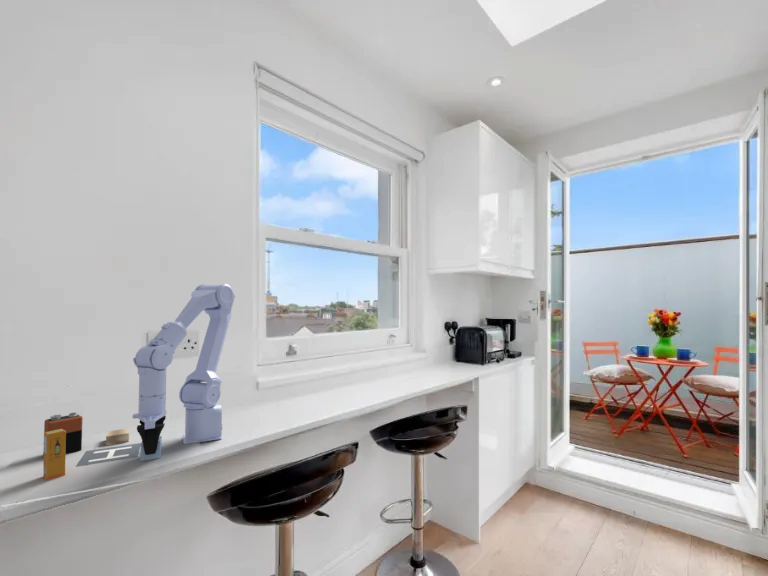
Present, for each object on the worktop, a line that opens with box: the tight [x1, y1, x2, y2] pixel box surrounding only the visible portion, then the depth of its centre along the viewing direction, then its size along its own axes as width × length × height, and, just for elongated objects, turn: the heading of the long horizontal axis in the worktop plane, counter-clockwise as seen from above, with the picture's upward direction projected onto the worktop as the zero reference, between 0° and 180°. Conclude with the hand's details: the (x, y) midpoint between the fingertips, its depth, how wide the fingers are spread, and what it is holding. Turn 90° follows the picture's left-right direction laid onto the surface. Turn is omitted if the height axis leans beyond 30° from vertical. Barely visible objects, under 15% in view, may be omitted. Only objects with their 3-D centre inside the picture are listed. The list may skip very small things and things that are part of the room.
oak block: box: [105, 427, 130, 446], centre depth 104 cm, size 5×5×3 cm
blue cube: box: [140, 435, 162, 462], centre depth 93 cm, size 4×4×4 cm
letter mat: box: [75, 442, 142, 468], centre depth 95 cm, size 12×11×1 cm
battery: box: [42, 412, 83, 456], centre depth 96 cm, size 4×7×10 cm, turn 143°
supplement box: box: [42, 429, 66, 481], centre depth 83 cm, size 3×3×10 cm
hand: (151, 450), depth 93 cm, fingers closed on blue cube, 4 cm apart
